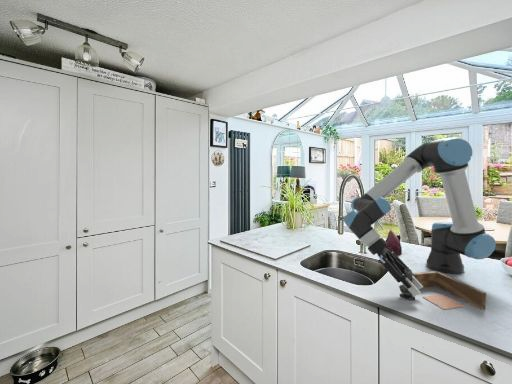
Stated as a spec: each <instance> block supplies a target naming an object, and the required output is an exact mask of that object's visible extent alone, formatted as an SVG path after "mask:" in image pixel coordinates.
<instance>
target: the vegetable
mask: <svg viewBox="0 0 512 384" xmlns="http://www.w3.org/2000/svg"><path fill="white" fill-rule="evenodd" d="M385 241H386V242H387V244H388V245H387V246H386V248H387V249H388V250H390V249H392V250H393V252H394V253H395V254H396V255H397V256H398V257H399V256H401V255H403V251H402V248H403V247H402V244H401V241H400V239H399V238H398V236H397V235H396V234H395V233H394V231H393V230H392V229H390V230H389V231H388V233H387V237H386V239H385Z"/></svg>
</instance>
